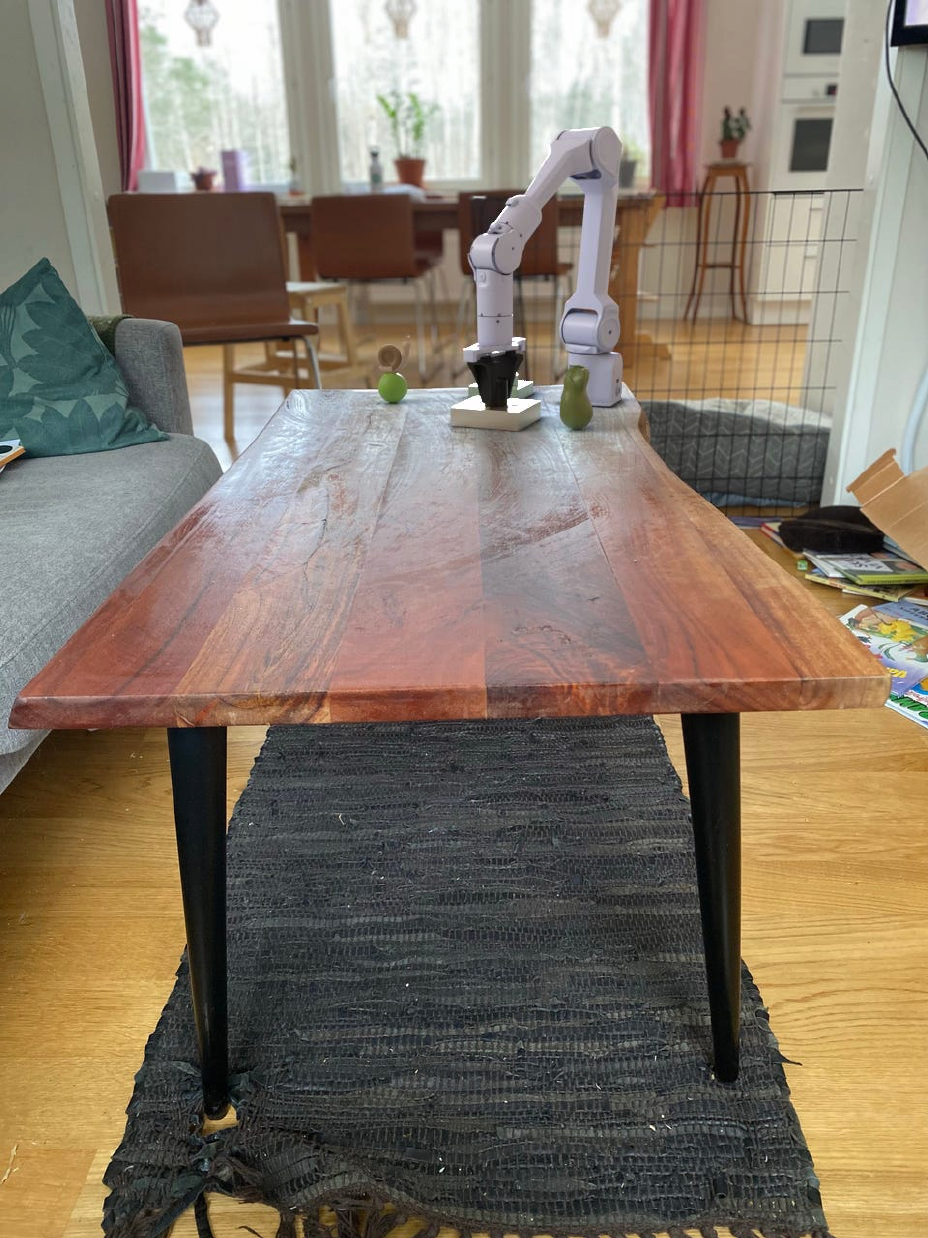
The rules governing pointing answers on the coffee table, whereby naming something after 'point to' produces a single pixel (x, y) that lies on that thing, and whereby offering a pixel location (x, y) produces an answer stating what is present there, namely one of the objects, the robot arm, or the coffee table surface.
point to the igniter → (518, 389)
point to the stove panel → (495, 414)
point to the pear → (575, 398)
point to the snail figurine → (393, 372)
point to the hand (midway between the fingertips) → (495, 400)
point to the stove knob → (501, 392)
